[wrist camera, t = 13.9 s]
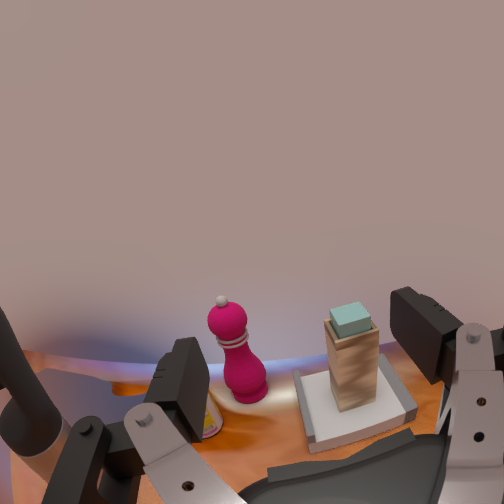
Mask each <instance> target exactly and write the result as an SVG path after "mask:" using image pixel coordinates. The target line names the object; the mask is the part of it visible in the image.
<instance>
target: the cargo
mask: <svg viewBox="0 0 504 504" xmlns="http://www.w3.org/2000/svg"><path fill="white" fill-rule="evenodd" d="M330 319H331V327H332V329H333V330H334V332H335V334H336V336H337V338H338V340H339V339H343V338H346V337H350V336H353V335H356V334H360V333H363V332H366V331H369V330H371V316H370V315H369V314H368V312H367V311H366V310H365V308H364V307H363V306H362V305H361V304H360V302H359V301H358V302H355V303H351V304H348V305H344V306H340V307H337V308H333V309H330Z"/></svg>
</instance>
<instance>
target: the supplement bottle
mask: <svg viewBox="0 0 504 504" xmlns="http://www.w3.org/2000/svg"><path fill="white" fill-rule="evenodd" d="M222 424H223V419H222V416H221V414H220V412H219V410H218V408H217V406H216V404H215V401H214V399H213V397H212V395H211V393H210V391H209V389H208V396H207V404H206V412H205V420H204V429H203V437H202V438H207V437H210V436H213V435H214V434H216V433H217V432H218V431H219V430H220V428H221V427H222Z"/></svg>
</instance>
